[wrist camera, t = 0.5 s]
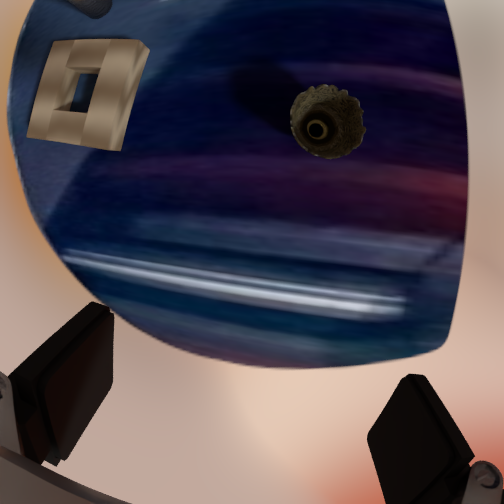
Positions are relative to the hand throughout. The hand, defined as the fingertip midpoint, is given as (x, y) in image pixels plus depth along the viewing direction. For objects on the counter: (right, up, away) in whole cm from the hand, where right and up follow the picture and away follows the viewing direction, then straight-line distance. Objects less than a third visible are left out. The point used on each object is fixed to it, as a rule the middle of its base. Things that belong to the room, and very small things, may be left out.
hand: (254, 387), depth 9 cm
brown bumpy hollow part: (+7, +18, +26) cm, 33 cm away
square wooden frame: (-22, +25, +25) cm, 42 cm away
